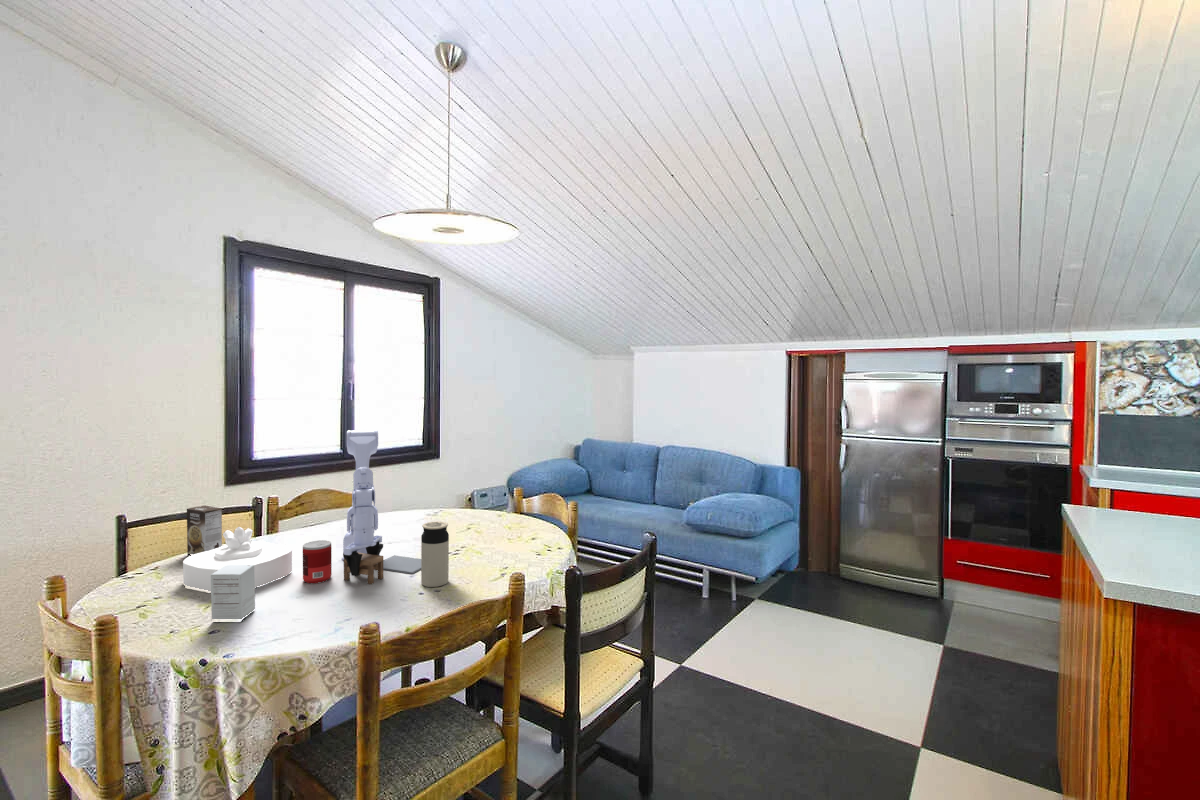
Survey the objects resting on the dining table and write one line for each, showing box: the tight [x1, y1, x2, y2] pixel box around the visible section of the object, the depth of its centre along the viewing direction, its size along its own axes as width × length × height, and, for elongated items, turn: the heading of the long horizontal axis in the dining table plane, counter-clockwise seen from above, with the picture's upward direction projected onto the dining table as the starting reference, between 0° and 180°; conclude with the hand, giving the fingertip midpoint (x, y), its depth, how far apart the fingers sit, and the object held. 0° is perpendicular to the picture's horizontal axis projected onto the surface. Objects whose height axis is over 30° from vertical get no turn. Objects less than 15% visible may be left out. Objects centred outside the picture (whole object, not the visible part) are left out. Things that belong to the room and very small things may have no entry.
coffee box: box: [186, 504, 223, 555], centre depth 199 cm, size 9×6×16 cm
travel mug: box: [420, 520, 450, 588], centre depth 176 cm, size 8×8×18 cm
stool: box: [343, 552, 384, 585], centre depth 179 cm, size 10×6×7 cm, turn 72°
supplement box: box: [210, 565, 256, 620], centre depth 150 cm, size 7×7×13 cm
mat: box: [377, 554, 421, 575], centre depth 192 cm, size 16×12×1 cm
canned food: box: [302, 539, 332, 584], centre depth 178 cm, size 8×8×11 cm
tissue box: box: [182, 526, 293, 591], centre depth 178 cm, size 25×25×16 cm
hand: (363, 571), depth 179 cm, fingers open, 7 cm apart
